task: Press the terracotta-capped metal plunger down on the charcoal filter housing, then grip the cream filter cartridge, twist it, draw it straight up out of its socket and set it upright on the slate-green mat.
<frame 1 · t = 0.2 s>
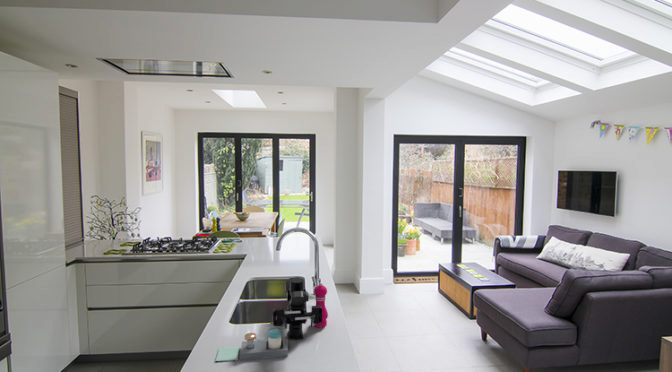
hand: (298, 326, 127), 17 cm above the table, tool horizontal, fingers open, 9 cm apart
plunger: (250, 342, 139), point 4 cm above the table, slide at 0.0 cm
mat: (227, 354, 137), on the table
pepper mill: (320, 324, 164), on the table
housing: (264, 351, 140), on the table
cartridge: (274, 351, 141), resting in housing
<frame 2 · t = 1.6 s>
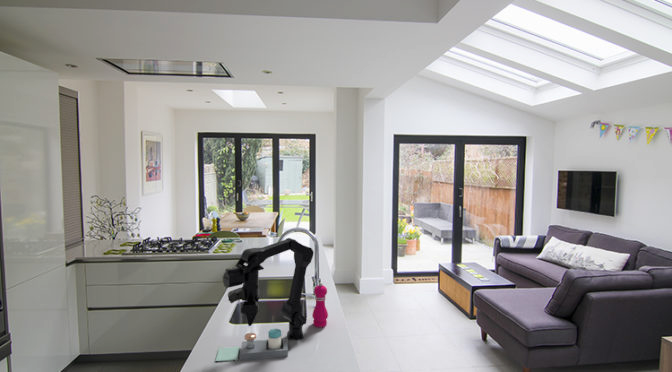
hand: (250, 320, 138), 13 cm above the table, tool pointing down, fingers open, 8 cm apart
nothing on the table moved.
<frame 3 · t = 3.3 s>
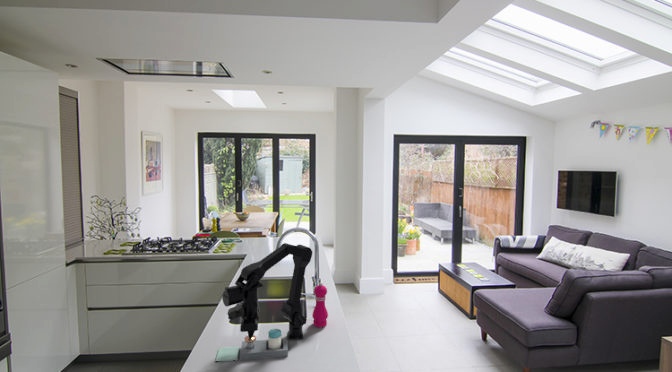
hand: (250, 337, 139), 6 cm above the table, tool pointing down, fingers closed, pressing on plunger
plunger: (250, 344, 139), point 3 cm above the table, slide at 0.9 cm, touching gripper
everything else where it was.
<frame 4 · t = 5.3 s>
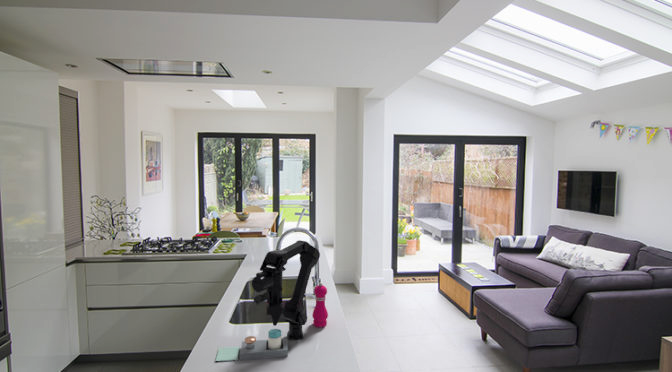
hand: (274, 322, 140), 12 cm above the table, tool pointing down, fingers open, 5 cm apart
plunger: (250, 345, 139), point 3 cm above the table, slide at 1.4 cm
everything else where it was.
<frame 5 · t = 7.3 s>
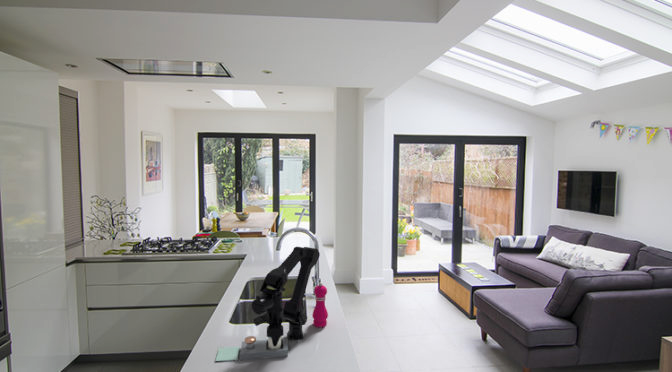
hand: (274, 342, 140), 4 cm above the table, tool pointing down, fingers closed on cartridge, 5 cm apart
cartridge: (274, 351, 141), resting in housing, touching gripper
everything else where it was.
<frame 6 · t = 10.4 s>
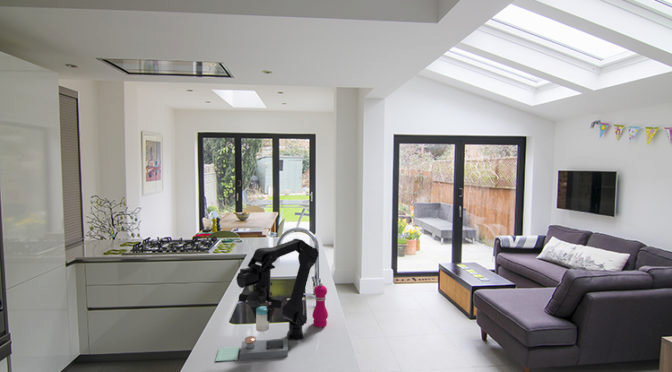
hand: (262, 320, 139), 13 cm above the table, tool pointing down, fingers closed on cartridge, 5 cm apart
cartridge: (262, 328, 139), point 10 cm above the table, touching gripper
everything else where it was.
when the fingers open (5 cm above the table, at t = 13.4 s): cartridge drops 2 cm, resting on mat.
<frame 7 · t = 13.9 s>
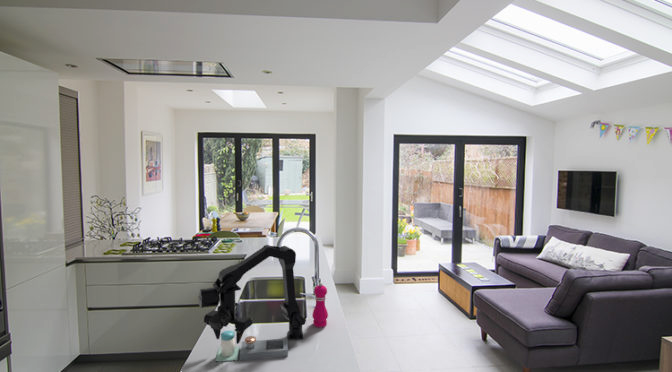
hand: (228, 341, 137), 5 cm above the table, tool pointing down, fingers open, 9 cm apart
cartridge: (227, 353, 137), point 1 cm above the table, touching mat
everything else where it was.
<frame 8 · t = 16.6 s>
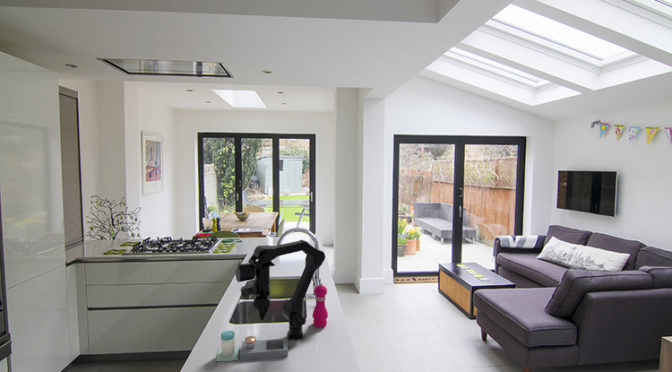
hand: (262, 314, 144), 13 cm above the table, tool pointing down, fingers open, 9 cm apart
nothing on the table moved.
at the end: plunger slide at 1.4 cm; cartridge 0.0 cm off-centre on the mat, point 0.5 cm above the mat's base; cartridge tilted 1° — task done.
